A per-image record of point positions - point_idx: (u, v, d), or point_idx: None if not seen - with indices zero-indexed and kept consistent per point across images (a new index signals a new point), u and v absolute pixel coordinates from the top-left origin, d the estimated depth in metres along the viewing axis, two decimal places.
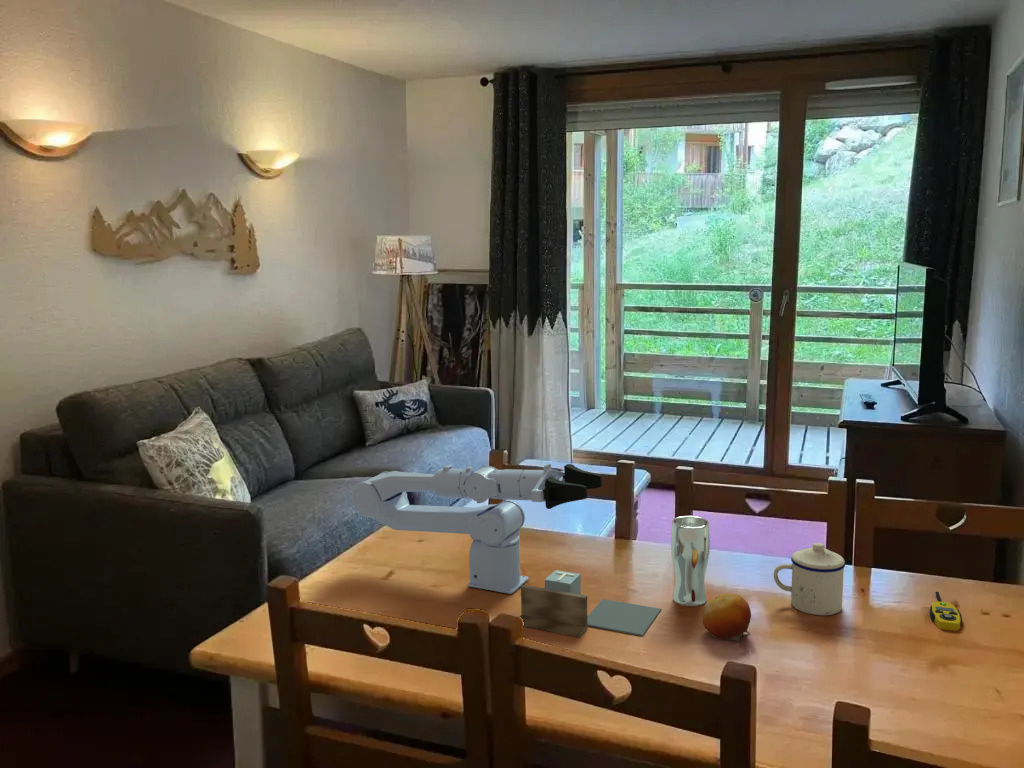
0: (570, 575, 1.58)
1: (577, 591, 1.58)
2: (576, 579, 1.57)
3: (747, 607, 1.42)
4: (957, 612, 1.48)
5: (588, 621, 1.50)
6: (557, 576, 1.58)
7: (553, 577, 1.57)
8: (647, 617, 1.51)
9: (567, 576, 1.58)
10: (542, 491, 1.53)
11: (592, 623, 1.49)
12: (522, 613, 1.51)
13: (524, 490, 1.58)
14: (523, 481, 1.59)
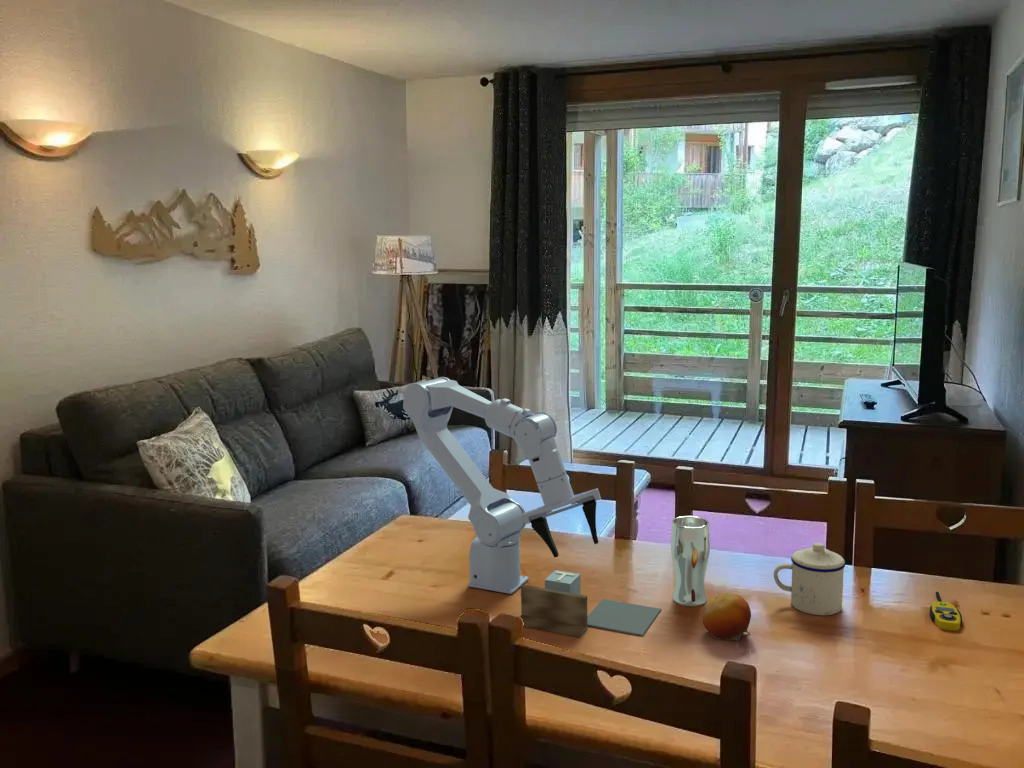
0: (570, 575, 1.58)
1: (577, 591, 1.58)
2: (576, 579, 1.57)
3: (747, 607, 1.42)
4: (957, 612, 1.48)
5: (588, 621, 1.50)
6: (557, 576, 1.58)
7: (553, 577, 1.57)
8: (647, 617, 1.51)
9: (567, 576, 1.58)
10: None
11: (592, 623, 1.49)
12: (522, 613, 1.51)
13: None
14: (539, 487, 1.55)
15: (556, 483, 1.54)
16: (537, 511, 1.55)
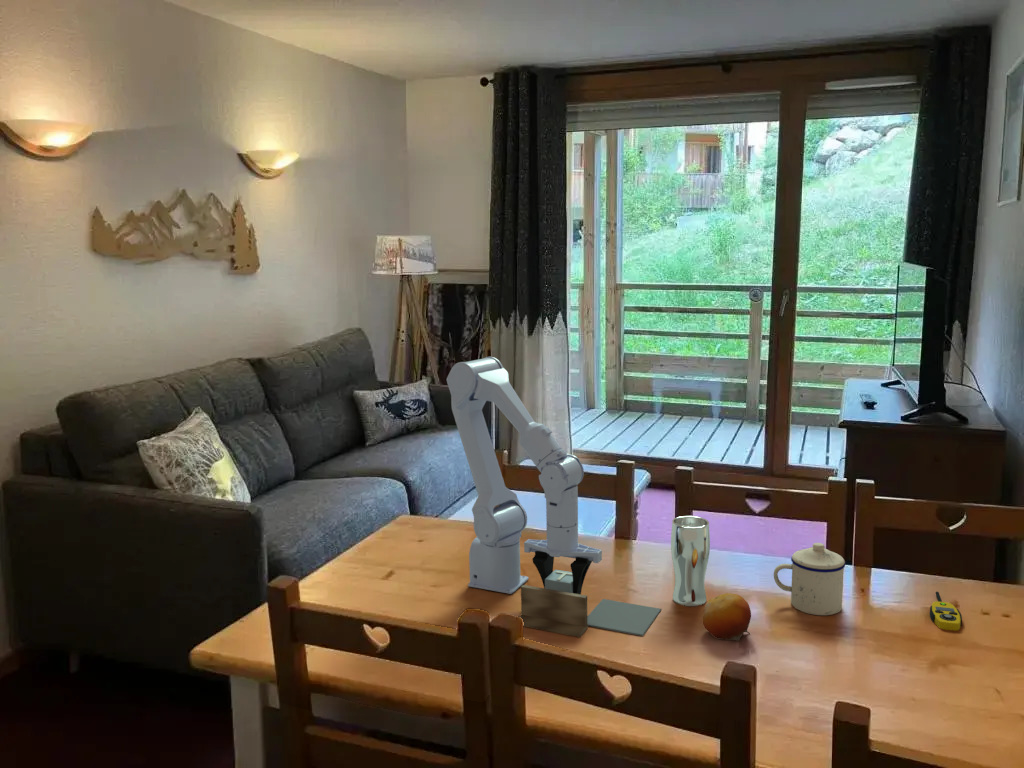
0: (570, 574, 1.58)
1: None
2: None
3: (747, 607, 1.42)
4: (957, 612, 1.48)
5: (588, 621, 1.50)
6: (557, 576, 1.58)
7: (553, 577, 1.57)
8: (647, 617, 1.51)
9: (567, 575, 1.58)
10: None
11: (592, 623, 1.49)
12: (522, 613, 1.51)
13: None
14: None
15: (560, 533, 1.53)
16: (537, 547, 1.57)
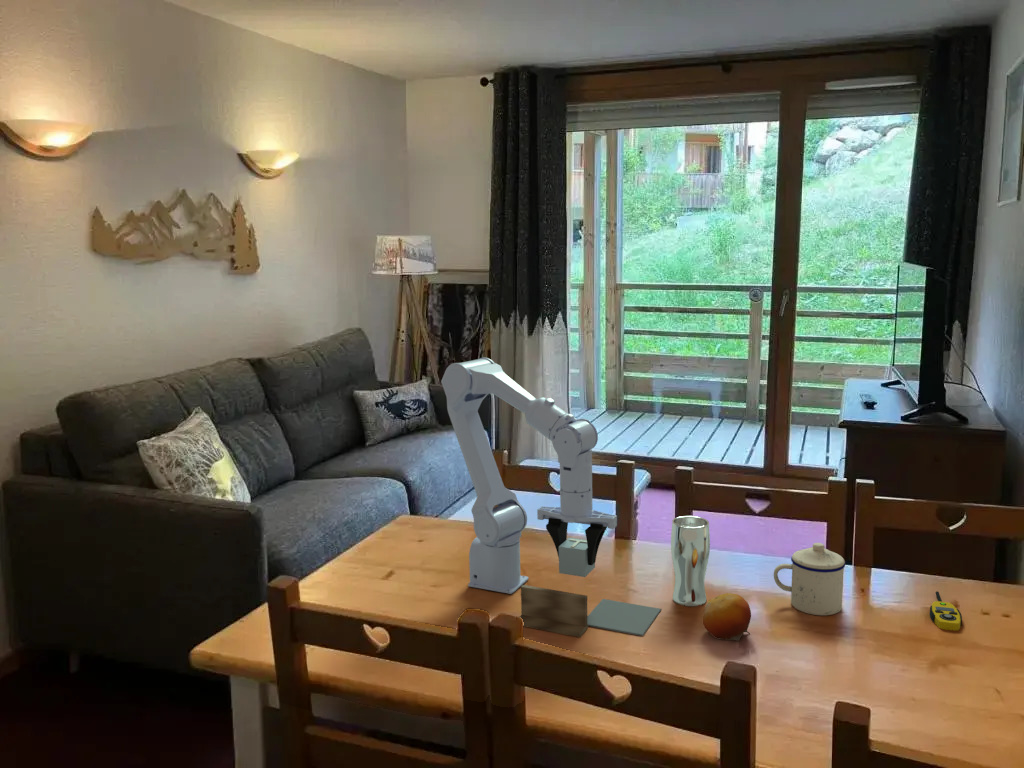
0: (584, 542, 1.55)
1: None
2: None
3: (747, 607, 1.42)
4: (957, 612, 1.48)
5: (588, 621, 1.50)
6: (571, 543, 1.55)
7: (567, 544, 1.54)
8: (647, 617, 1.51)
9: (581, 543, 1.55)
10: (541, 519, 1.56)
11: (592, 623, 1.49)
12: (522, 613, 1.51)
13: None
14: (560, 493, 1.53)
15: (574, 498, 1.50)
16: (551, 514, 1.54)
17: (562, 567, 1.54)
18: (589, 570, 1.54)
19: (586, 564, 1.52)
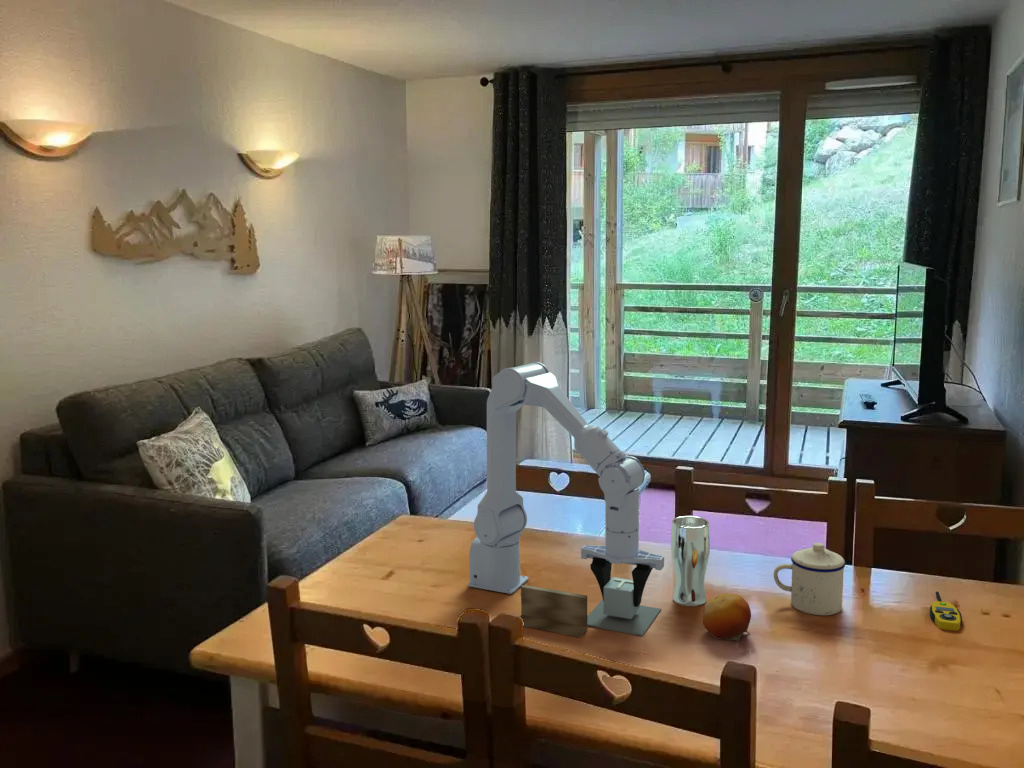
0: (629, 582, 1.51)
1: None
2: None
3: (747, 607, 1.42)
4: (957, 612, 1.48)
5: (588, 621, 1.50)
6: (616, 583, 1.51)
7: (611, 585, 1.50)
8: (647, 617, 1.51)
9: (626, 583, 1.51)
10: (585, 558, 1.52)
11: (592, 623, 1.49)
12: (522, 613, 1.51)
13: None
14: (605, 532, 1.49)
15: (621, 538, 1.46)
16: (595, 553, 1.50)
17: (607, 608, 1.50)
18: (634, 611, 1.50)
19: (632, 606, 1.48)
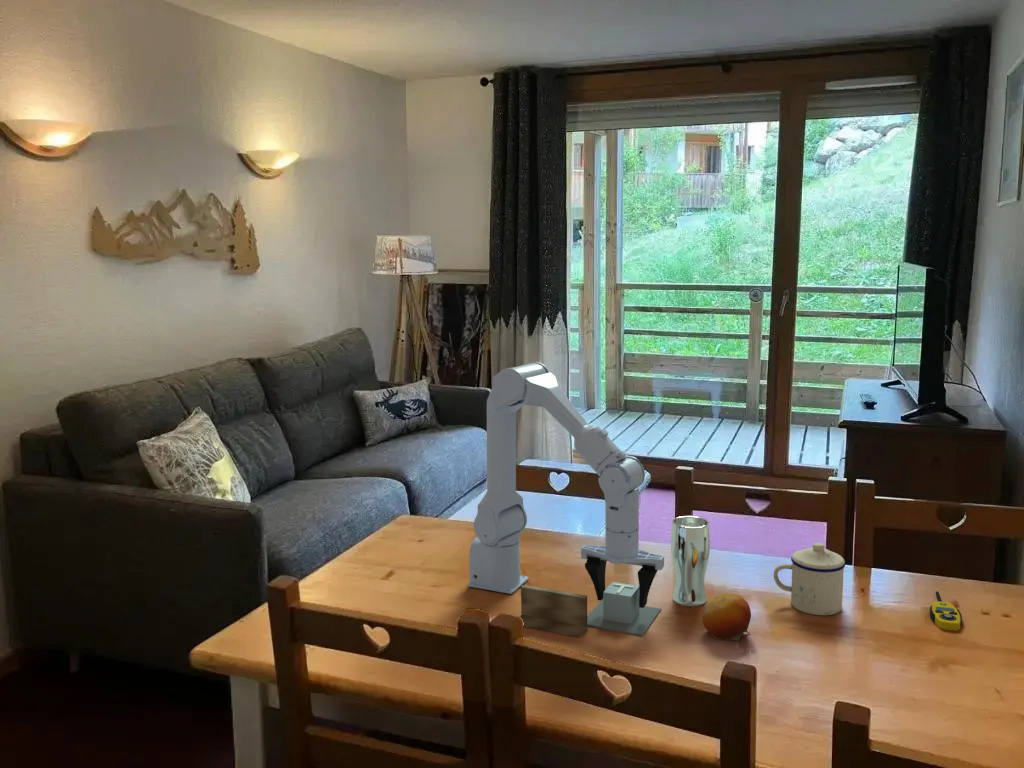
0: (629, 587, 1.51)
1: (636, 604, 1.51)
2: (636, 591, 1.50)
3: (747, 607, 1.42)
4: (957, 612, 1.48)
5: (588, 621, 1.50)
6: (615, 588, 1.51)
7: (611, 590, 1.50)
8: (647, 617, 1.51)
9: (626, 588, 1.51)
10: (585, 558, 1.52)
11: (592, 623, 1.49)
12: (522, 613, 1.51)
13: None
14: (605, 532, 1.49)
15: (621, 538, 1.46)
16: (595, 553, 1.50)
17: (607, 613, 1.50)
18: (634, 616, 1.50)
19: (632, 611, 1.48)
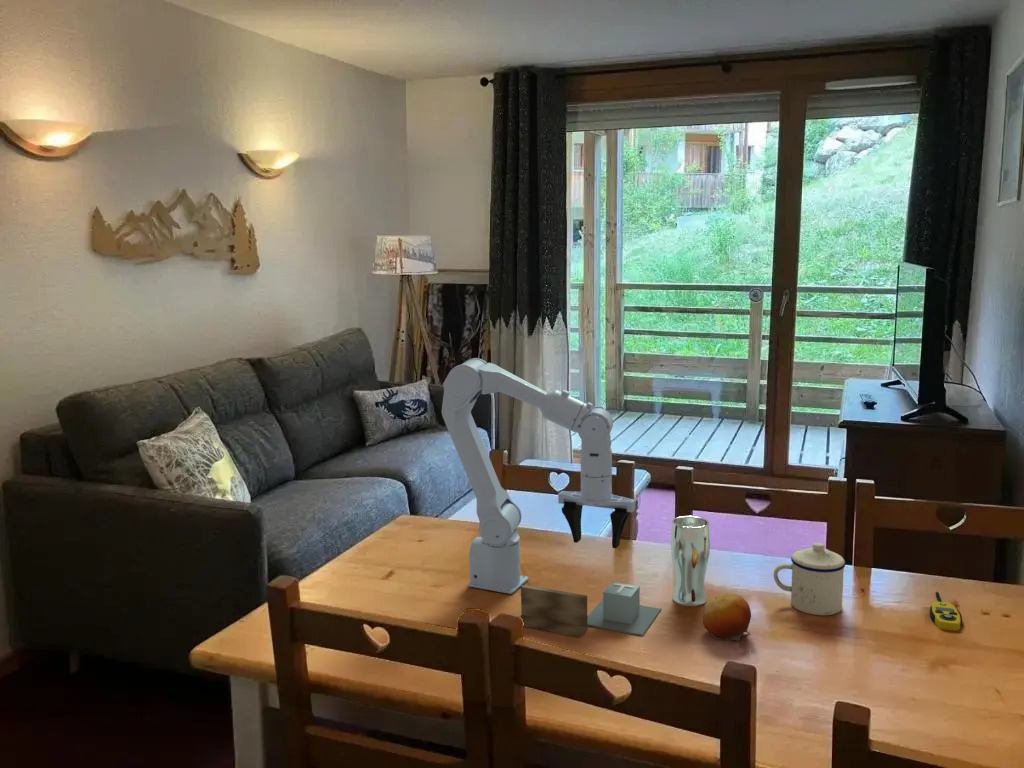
0: (629, 587, 1.51)
1: (636, 604, 1.51)
2: (636, 591, 1.50)
3: (747, 607, 1.42)
4: (957, 612, 1.48)
5: (588, 621, 1.50)
6: (615, 588, 1.51)
7: (611, 590, 1.50)
8: (647, 617, 1.51)
9: (626, 588, 1.51)
10: (562, 503, 1.62)
11: (592, 623, 1.49)
12: (522, 613, 1.51)
13: None
14: (581, 478, 1.59)
15: (595, 482, 1.56)
16: (571, 498, 1.60)
17: (607, 613, 1.50)
18: (634, 616, 1.50)
19: (632, 611, 1.48)
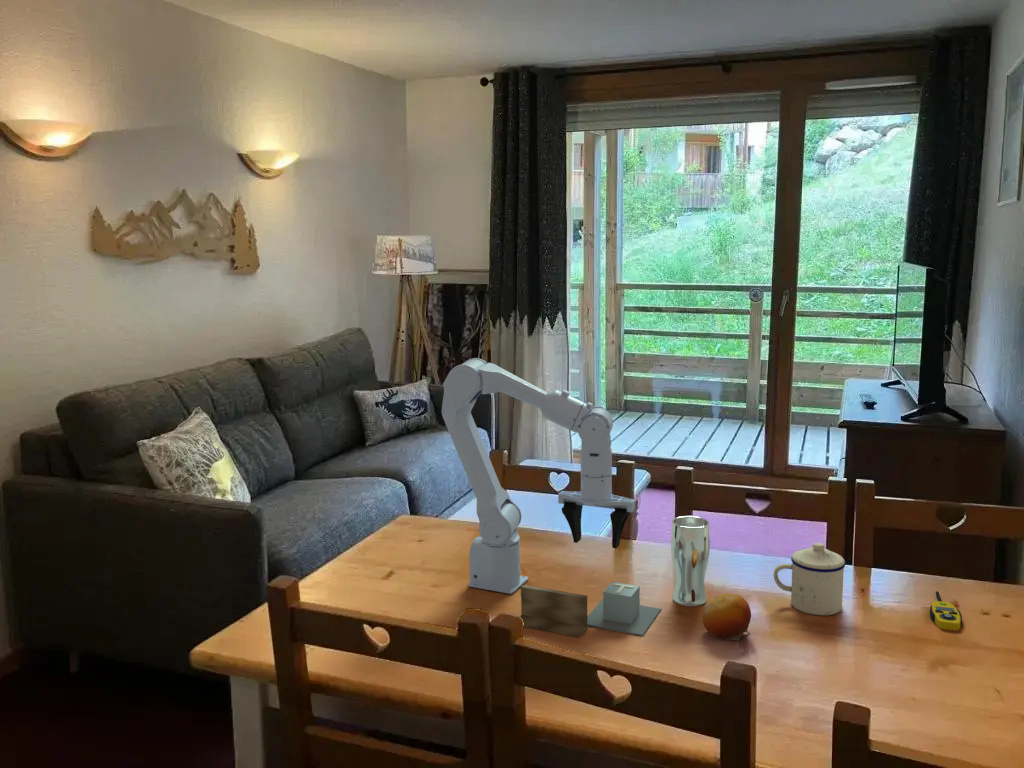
0: (629, 587, 1.51)
1: (636, 604, 1.51)
2: (636, 591, 1.50)
3: (747, 607, 1.42)
4: (957, 612, 1.48)
5: (588, 621, 1.50)
6: (615, 588, 1.51)
7: (611, 590, 1.50)
8: (647, 617, 1.51)
9: (626, 588, 1.51)
10: (562, 503, 1.62)
11: (592, 623, 1.49)
12: (522, 613, 1.51)
13: None
14: (581, 478, 1.59)
15: (595, 482, 1.56)
16: (571, 498, 1.60)
17: (607, 613, 1.50)
18: (634, 616, 1.50)
19: (632, 611, 1.48)
